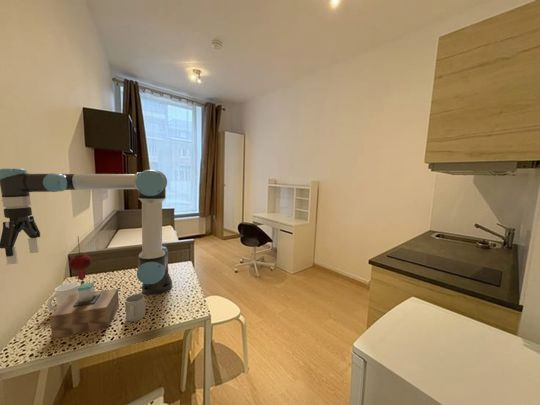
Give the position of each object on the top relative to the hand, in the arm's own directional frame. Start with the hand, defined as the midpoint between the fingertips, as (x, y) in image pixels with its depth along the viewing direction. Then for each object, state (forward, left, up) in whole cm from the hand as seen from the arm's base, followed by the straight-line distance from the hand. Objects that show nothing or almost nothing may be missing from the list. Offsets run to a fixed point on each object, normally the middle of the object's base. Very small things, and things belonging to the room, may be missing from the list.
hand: (24, 257), depth 93 cm
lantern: (-9, -25, -28) cm, 39 cm away
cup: (-41, +14, -28) cm, 52 cm away
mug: (-9, -5, -28) cm, 30 cm away
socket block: (-23, +9, -28) cm, 37 cm away
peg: (-23, +9, -21) cm, 32 cm away
